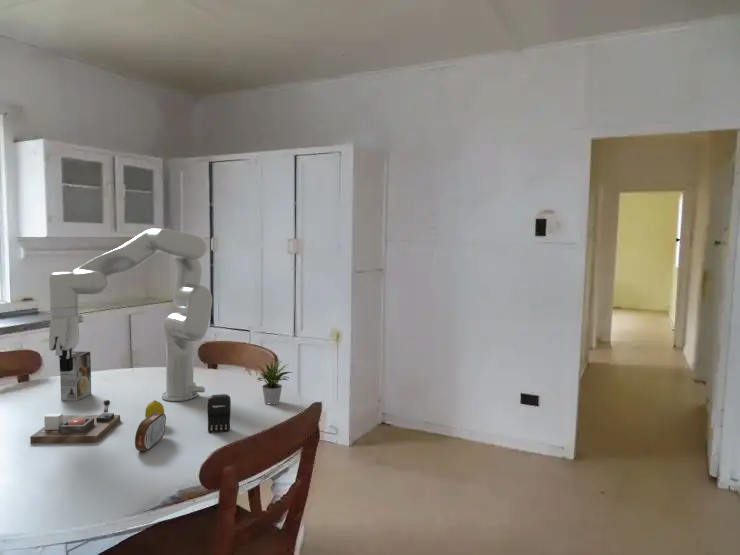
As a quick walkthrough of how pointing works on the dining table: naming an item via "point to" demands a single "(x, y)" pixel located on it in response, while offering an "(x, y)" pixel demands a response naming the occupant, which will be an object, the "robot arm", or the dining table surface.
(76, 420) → the push button
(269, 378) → the house plant
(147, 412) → the lemon
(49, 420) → the block
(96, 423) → the control board
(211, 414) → the battery charger
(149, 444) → the tin
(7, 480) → the dining table surface
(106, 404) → the toggle lever
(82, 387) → the coffee box
